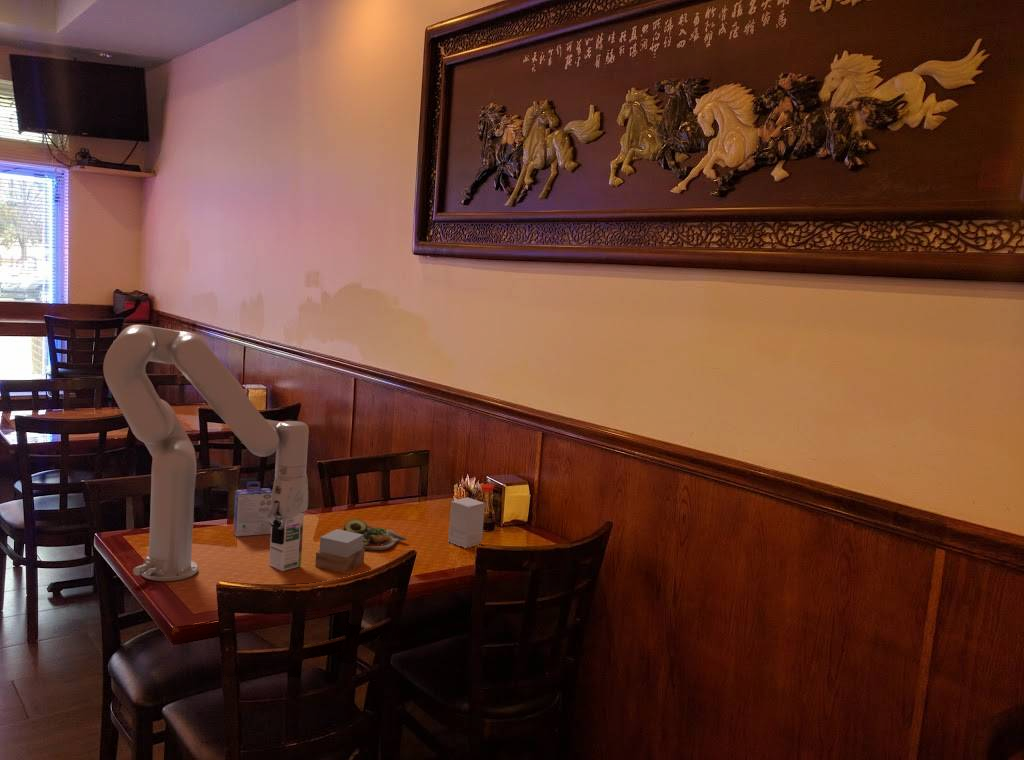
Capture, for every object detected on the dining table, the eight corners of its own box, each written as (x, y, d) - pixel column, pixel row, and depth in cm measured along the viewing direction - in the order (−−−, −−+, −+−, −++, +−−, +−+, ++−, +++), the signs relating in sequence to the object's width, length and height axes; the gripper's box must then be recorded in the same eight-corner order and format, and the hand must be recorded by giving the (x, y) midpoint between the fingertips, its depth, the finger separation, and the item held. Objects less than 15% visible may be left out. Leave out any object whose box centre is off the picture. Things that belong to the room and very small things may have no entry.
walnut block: (345, 574, 200) (347, 559, 200) (315, 567, 203) (316, 552, 203) (363, 563, 209) (364, 549, 208) (333, 557, 212) (334, 542, 211)
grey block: (346, 558, 201) (347, 543, 200) (319, 552, 203) (320, 537, 203) (362, 549, 208) (363, 534, 208) (336, 543, 211) (336, 528, 210)
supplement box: (482, 544, 232) (486, 502, 231) (465, 549, 226) (469, 506, 225) (464, 537, 237) (467, 496, 235) (446, 542, 231) (450, 500, 229)
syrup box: (282, 572, 197) (286, 515, 195) (268, 565, 201) (271, 510, 199) (301, 566, 202) (304, 511, 200) (286, 560, 205) (290, 506, 203)
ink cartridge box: (267, 528, 228) (270, 479, 226) (272, 534, 223) (275, 484, 221) (232, 530, 223) (234, 481, 221) (235, 537, 218) (238, 486, 216)
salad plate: (412, 536, 234) (413, 521, 234) (397, 556, 217) (399, 540, 216) (348, 528, 236) (349, 513, 235) (329, 547, 218) (330, 531, 218)
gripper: (282, 480, 189) (278, 552, 191) (322, 466, 205) (318, 532, 207) (256, 475, 191) (252, 545, 193) (298, 461, 207) (293, 527, 210)
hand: (286, 538), depth 200 cm, fingers closed on syrup box, 6 cm apart
